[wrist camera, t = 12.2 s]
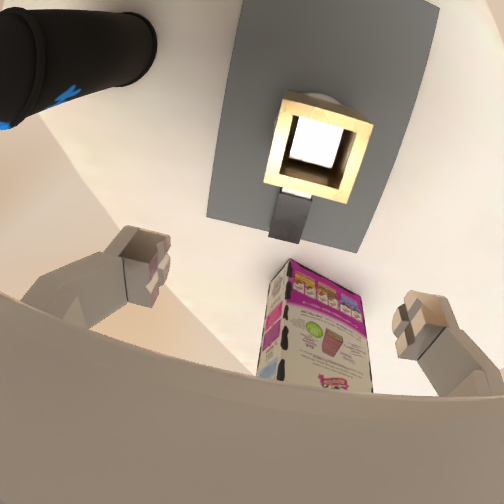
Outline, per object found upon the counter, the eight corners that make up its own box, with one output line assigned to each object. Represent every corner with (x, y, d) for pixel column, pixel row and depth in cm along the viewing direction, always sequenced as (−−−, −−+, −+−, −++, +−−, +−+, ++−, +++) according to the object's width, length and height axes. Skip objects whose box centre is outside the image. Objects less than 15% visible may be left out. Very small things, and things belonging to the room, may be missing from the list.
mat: (255, -46, 18) (255, -48, 17) (438, 8, 17) (439, 8, 17) (207, 215, 34) (206, 217, 34) (356, 251, 34) (356, 253, 34)
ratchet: (284, 82, 25) (281, 88, 20) (360, 104, 25) (372, 114, 20) (252, 223, 33) (244, 251, 29) (315, 238, 33) (317, 269, 29)
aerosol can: (101, 8, 21) (-68, 18, 5) (169, 19, 22) (-2, 9, 6) (81, 78, 26) (-76, 141, 10) (143, 95, 27) (-17, 172, 11)
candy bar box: (267, 284, 39) (247, 404, 25) (289, 257, 36) (277, 382, 23) (338, 319, 41) (343, 432, 27) (363, 296, 38) (378, 414, 25)
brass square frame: (286, 90, 23) (282, 98, 18) (358, 110, 23) (373, 124, 18) (270, 156, 27) (263, 182, 22) (337, 174, 27) (346, 203, 22)
